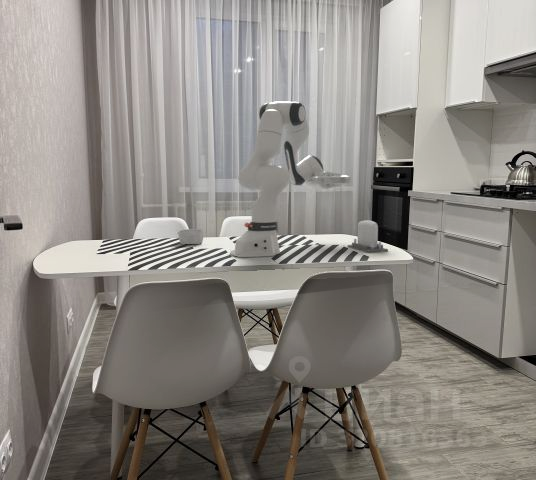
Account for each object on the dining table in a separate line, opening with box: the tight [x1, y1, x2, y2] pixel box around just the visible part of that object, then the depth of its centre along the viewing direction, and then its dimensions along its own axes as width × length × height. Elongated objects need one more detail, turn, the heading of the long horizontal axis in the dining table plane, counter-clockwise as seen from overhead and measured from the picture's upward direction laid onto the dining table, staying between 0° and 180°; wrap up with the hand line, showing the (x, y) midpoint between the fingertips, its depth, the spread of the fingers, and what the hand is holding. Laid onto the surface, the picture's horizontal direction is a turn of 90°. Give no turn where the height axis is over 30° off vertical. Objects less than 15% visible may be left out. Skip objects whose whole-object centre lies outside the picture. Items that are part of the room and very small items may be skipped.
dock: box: [347, 238, 389, 254], centre depth 219 cm, size 10×18×4 cm, turn 22°
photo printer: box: [357, 219, 379, 248], centre depth 218 cm, size 10×4×12 cm, turn 36°
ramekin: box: [177, 228, 205, 245], centre depth 241 cm, size 13×13×7 cm
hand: (338, 180), depth 229 cm, fingers open, 8 cm apart
